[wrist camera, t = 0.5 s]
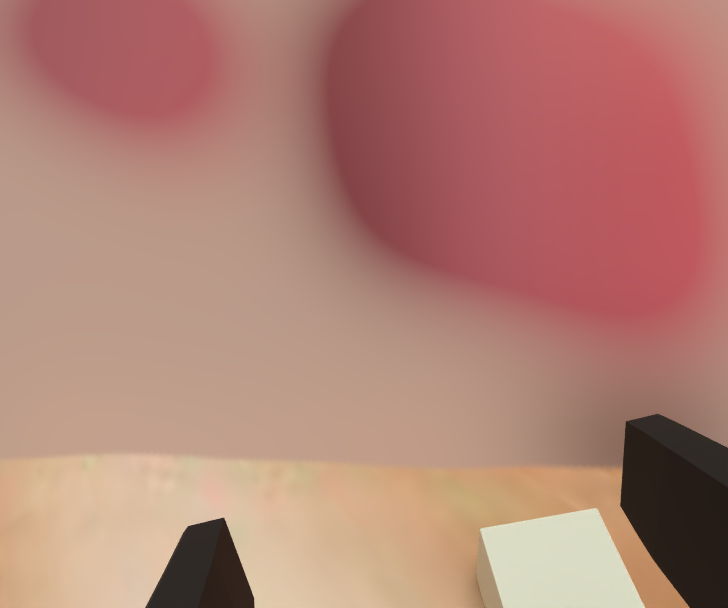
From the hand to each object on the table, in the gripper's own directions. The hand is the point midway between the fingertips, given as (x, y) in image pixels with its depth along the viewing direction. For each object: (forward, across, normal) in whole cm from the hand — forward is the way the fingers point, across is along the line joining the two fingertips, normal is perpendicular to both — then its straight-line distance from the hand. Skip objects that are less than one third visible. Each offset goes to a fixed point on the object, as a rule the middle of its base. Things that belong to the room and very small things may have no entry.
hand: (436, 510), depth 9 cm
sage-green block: (+8, -6, +17) cm, 19 cm away
